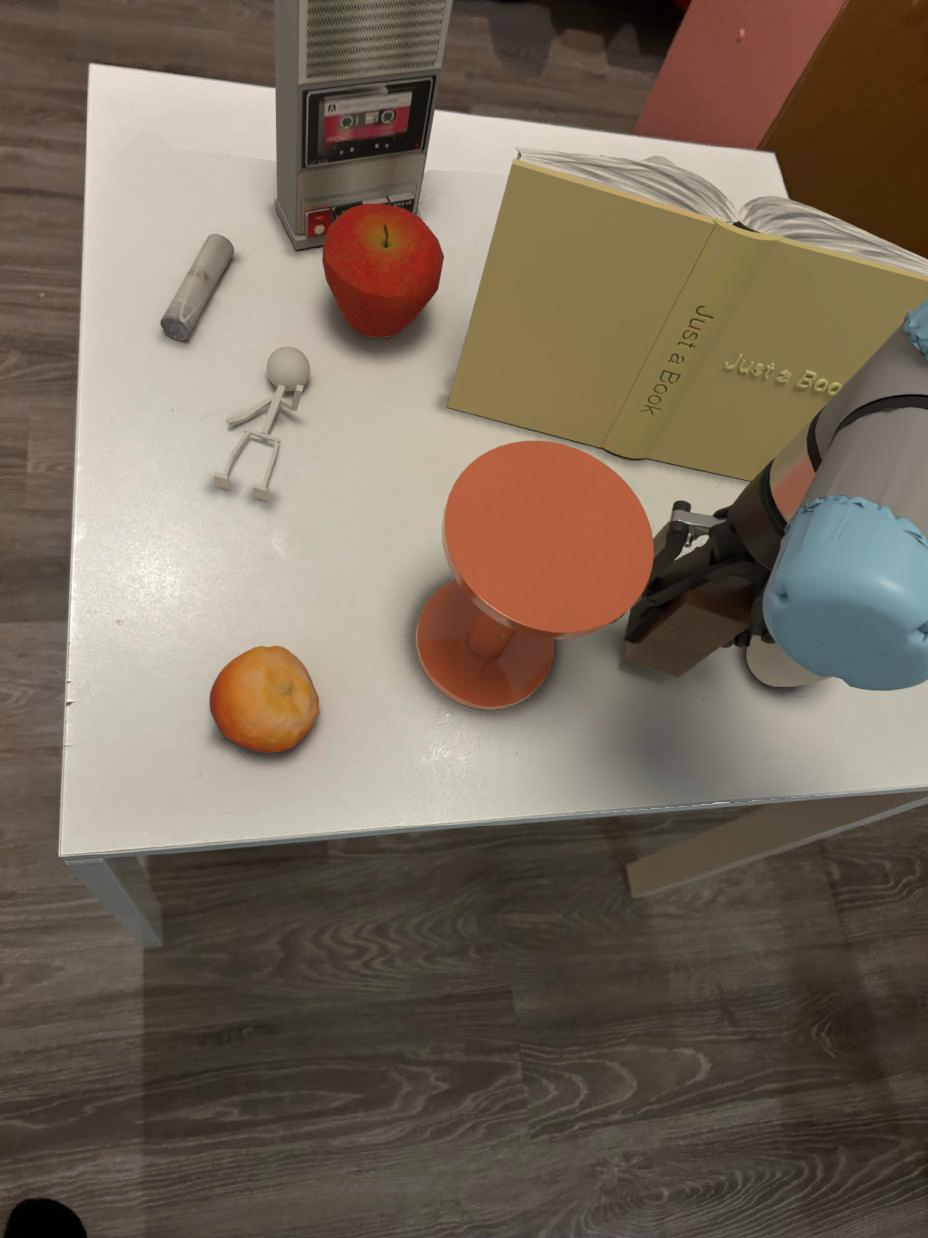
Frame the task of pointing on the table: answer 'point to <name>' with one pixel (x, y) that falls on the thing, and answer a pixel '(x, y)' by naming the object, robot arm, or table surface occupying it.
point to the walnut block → (693, 626)
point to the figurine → (271, 408)
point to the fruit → (264, 700)
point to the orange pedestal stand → (529, 569)
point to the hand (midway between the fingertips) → (662, 638)
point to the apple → (381, 267)
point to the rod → (197, 287)
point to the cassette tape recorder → (353, 106)
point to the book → (671, 312)
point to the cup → (776, 666)
